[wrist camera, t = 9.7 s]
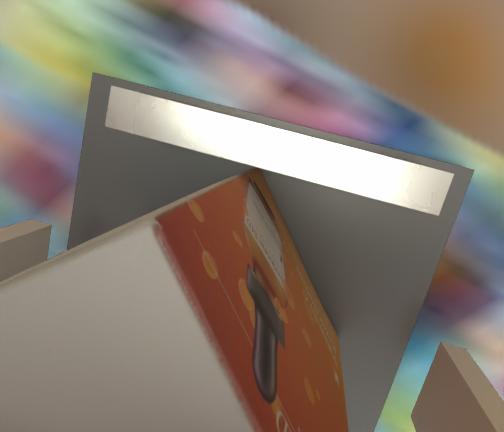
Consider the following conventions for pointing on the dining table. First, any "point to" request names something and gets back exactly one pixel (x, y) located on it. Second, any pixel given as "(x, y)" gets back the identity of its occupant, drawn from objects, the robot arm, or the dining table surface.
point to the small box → (173, 327)
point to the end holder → (279, 150)
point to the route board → (300, 229)
